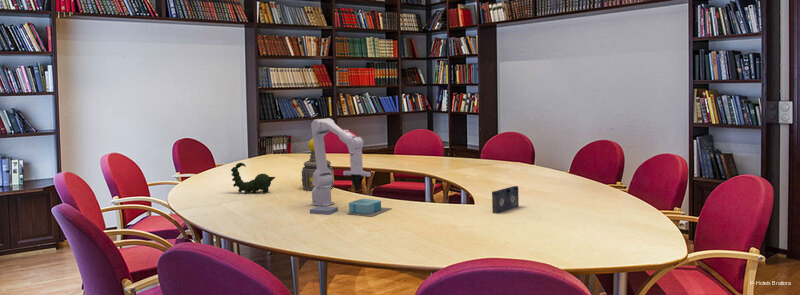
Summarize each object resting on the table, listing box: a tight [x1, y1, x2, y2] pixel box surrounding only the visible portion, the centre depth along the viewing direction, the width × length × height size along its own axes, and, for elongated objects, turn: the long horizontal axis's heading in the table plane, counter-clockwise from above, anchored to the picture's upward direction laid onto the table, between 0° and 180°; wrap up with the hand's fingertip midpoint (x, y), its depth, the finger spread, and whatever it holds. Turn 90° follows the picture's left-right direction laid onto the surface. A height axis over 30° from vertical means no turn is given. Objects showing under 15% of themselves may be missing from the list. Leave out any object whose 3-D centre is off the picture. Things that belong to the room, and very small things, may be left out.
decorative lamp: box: [301, 138, 335, 192], centre depth 367 cm, size 19×19×30 cm
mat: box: [347, 206, 392, 218], centre depth 300 cm, size 14×18×1 cm
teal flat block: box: [348, 198, 382, 214], centre depth 300 cm, size 12×4×12 cm
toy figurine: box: [230, 162, 276, 195], centre depth 360 cm, size 9×19×25 cm
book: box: [309, 205, 339, 216], centre depth 302 cm, size 11×8×2 cm
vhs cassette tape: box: [491, 185, 520, 214], centre depth 293 cm, size 18×3×10 cm, turn 135°
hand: (357, 190), depth 302 cm, fingers closed
